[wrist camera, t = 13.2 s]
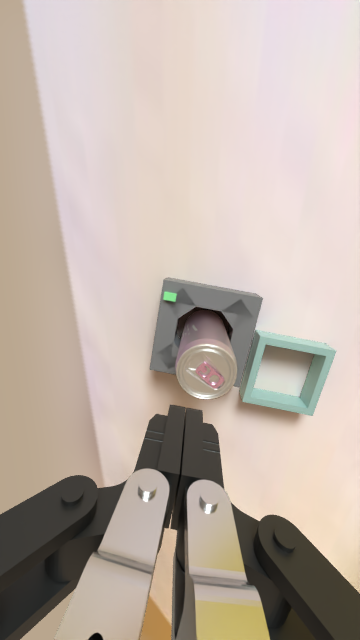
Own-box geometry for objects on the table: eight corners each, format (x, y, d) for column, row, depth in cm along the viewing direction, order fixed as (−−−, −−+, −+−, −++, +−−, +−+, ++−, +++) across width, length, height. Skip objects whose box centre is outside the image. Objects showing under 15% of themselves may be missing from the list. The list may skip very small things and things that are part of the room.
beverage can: (204, 354, 38) (206, 413, 23) (176, 328, 37) (161, 373, 23) (232, 327, 36) (253, 373, 22) (203, 300, 36) (205, 329, 21)
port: (256, 293, 35) (263, 298, 31) (235, 374, 38) (239, 389, 34) (167, 277, 35) (163, 280, 31) (154, 358, 39) (148, 370, 34)
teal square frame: (325, 343, 36) (336, 350, 33) (304, 403, 38) (312, 415, 36) (255, 330, 36) (260, 336, 33) (239, 391, 39) (242, 401, 36)
